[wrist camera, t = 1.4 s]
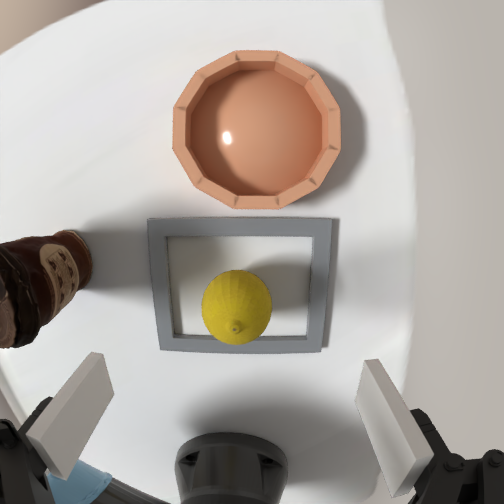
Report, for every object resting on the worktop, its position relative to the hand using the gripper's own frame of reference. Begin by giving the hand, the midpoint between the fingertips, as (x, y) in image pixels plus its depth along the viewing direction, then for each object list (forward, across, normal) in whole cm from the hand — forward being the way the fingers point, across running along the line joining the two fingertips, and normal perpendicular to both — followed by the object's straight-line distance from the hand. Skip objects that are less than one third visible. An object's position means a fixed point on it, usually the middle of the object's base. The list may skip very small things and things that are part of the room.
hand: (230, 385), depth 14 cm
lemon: (+15, 0, 0) cm, 15 cm away
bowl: (+15, -1, -14) cm, 20 cm away
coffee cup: (+15, +18, -2) cm, 23 cm away
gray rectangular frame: (+14, 0, 0) cm, 14 cm away
